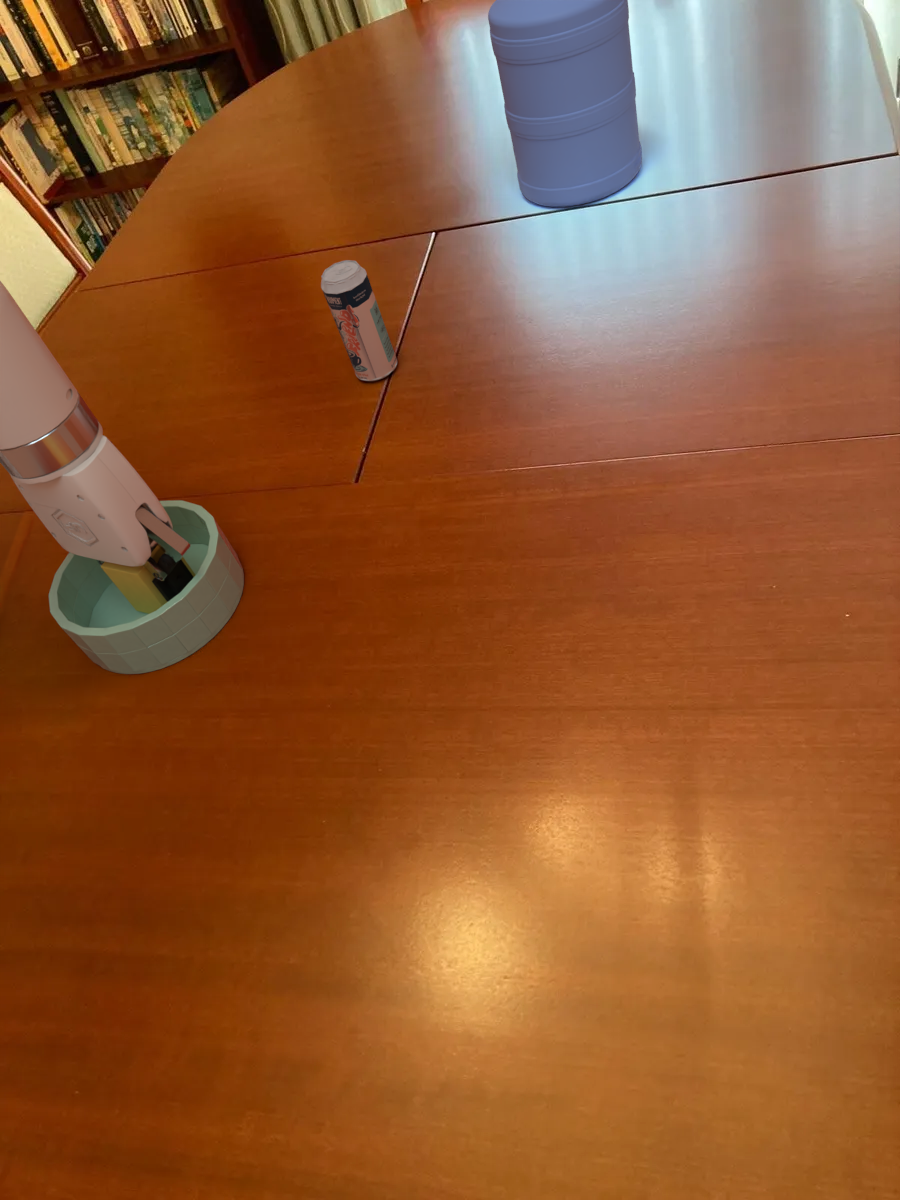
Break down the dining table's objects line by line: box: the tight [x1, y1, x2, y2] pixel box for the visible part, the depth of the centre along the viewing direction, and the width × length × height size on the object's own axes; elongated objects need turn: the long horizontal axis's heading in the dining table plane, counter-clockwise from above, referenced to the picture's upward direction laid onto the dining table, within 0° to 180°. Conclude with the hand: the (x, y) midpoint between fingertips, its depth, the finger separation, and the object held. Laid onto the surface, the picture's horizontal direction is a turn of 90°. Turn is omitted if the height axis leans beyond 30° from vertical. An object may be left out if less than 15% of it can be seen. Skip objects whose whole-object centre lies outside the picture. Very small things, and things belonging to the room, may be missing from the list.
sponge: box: [101, 536, 195, 614], centre depth 77 cm, size 4×4×6 cm
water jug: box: [487, 0, 643, 208], centre depth 103 cm, size 16×16×28 cm
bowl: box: [48, 499, 245, 675], centre depth 78 cm, size 16×16×6 cm
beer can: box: [320, 259, 398, 382], centre depth 92 cm, size 5×5×12 cm
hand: (164, 591), depth 79 cm, fingers closed on sponge, 4 cm apart
